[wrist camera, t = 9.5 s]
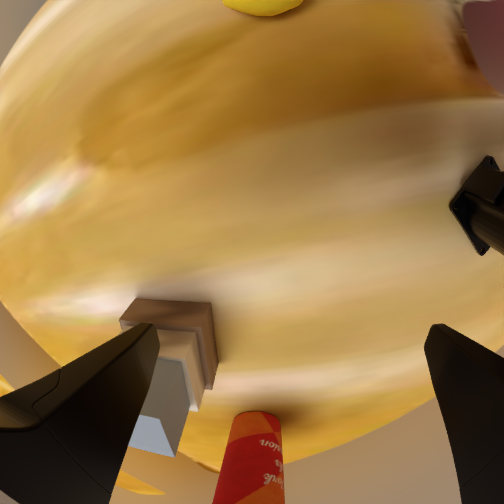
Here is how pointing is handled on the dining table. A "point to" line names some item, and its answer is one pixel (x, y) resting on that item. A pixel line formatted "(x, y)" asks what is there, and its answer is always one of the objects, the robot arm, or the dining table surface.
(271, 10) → the lemon
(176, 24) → the dining table surface
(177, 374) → the slate brick
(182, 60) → the dining table surface
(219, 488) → the paper cup
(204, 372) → the tower base
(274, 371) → the dining table surface
